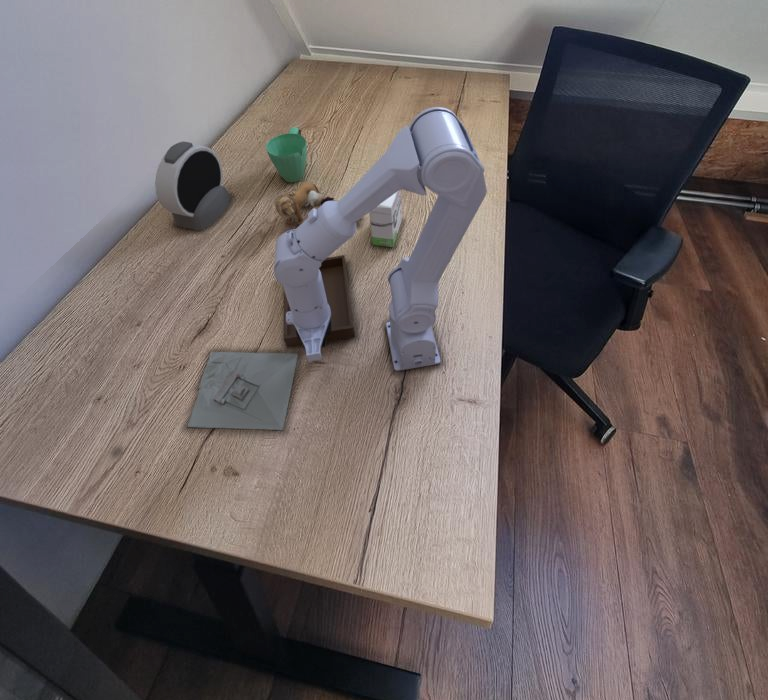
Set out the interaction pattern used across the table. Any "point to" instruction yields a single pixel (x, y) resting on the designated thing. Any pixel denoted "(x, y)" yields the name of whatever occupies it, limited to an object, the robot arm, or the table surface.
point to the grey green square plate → (244, 391)
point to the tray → (329, 302)
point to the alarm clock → (191, 185)
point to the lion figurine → (295, 202)
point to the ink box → (386, 221)
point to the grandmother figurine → (319, 199)
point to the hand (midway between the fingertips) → (319, 343)
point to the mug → (288, 154)
